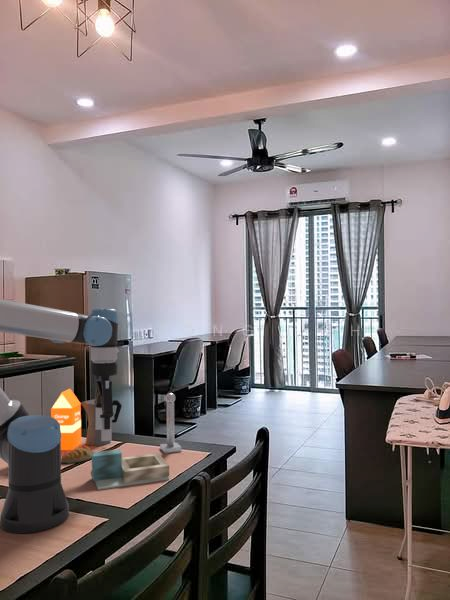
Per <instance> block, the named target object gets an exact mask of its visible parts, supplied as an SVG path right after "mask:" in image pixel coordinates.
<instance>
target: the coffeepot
mask: <svg viewBox="0 0 450 600" xmlns="http://www.w3.org/2000/svg"><path fill="white" fill-rule="evenodd" d="M80 403H81V407H83V409H84V411H85V412H86V415H87V422H88V425H87V426H88V427H87V431H86V438H85V444H86V446H91V447H100V446H106V445H108V444H110V443H111V441H112V440H111V441H101V430H96V429H95V424H96V408H97V407H96V406H95V398H94V399H90V400H84V401H81V402H80ZM112 403H113V406H116V408H115V413H114V414H113V419H112V424H113V423H115V424H116V423H117V422H118V419H119V415H120V413H121V410H122V406H123V405H122V403H121V401H119V400H117V399H112Z"/></svg>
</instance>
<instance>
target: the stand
mask: <svg viewBox="0 0 450 600" xmlns="http://www.w3.org/2000/svg"><path fill="white" fill-rule="evenodd" d="M164 400H165V402H166V443H160V444H159V445H160V446H159V448H160V450H161V451H162V452H163V453H164V454H171V453H179V452H182V451H183V450H182V448H183V447H182V446H181V445H180V444H179V442H176V441H175V401H176V394H174V393H172V392H168V393H167V394H165V397H164Z"/></svg>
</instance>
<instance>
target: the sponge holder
mask: <svg viewBox="0 0 450 600" xmlns="http://www.w3.org/2000/svg"><path fill="white" fill-rule="evenodd" d="M91 454H92V457H91V470H92V472H91V479H92V480H93V482H95V481H98V480H106V479H113V478H120V477H122V479H123V481H124V482H131V481H138V480H145V479H152V478H159V477H166V476H168V477H170V465H169V463H167V462H166V460H165V459H164V457H162V456H161V455H160V453H159V452H157V453H150V454H141V455H134V456H133V455H132V456H125V457H122V456H123V455H122V451H121V449H111V450H103V451H93V452H91ZM153 465H154V466H153ZM145 466H146V467H145ZM138 467H139V468H138Z"/></svg>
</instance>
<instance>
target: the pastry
mask: <svg viewBox="0 0 450 600" xmlns="http://www.w3.org/2000/svg"><path fill="white" fill-rule="evenodd" d="M89 460H92V452H91V450H90V448H89V447H88V446H82V447H76V448H75V449H73V450H69V452H66V453H65V454H64V455H61V463H64V464H68V465H69V464H75V463H80V462H85V461H89Z"/></svg>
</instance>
